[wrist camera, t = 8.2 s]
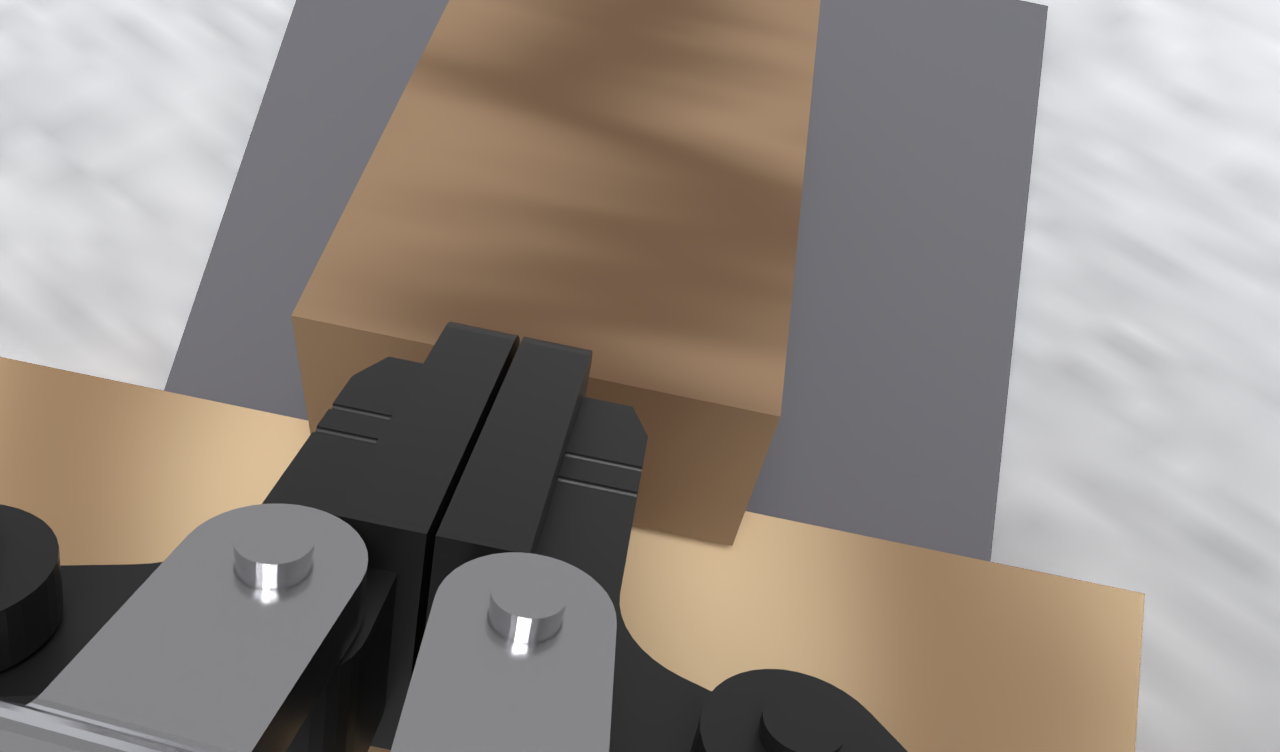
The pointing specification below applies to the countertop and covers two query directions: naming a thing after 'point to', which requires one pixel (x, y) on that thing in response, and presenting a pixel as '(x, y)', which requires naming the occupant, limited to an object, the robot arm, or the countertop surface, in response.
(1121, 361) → the countertop surface
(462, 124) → the brown wood brick
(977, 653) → the wooden block
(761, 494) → the mat
